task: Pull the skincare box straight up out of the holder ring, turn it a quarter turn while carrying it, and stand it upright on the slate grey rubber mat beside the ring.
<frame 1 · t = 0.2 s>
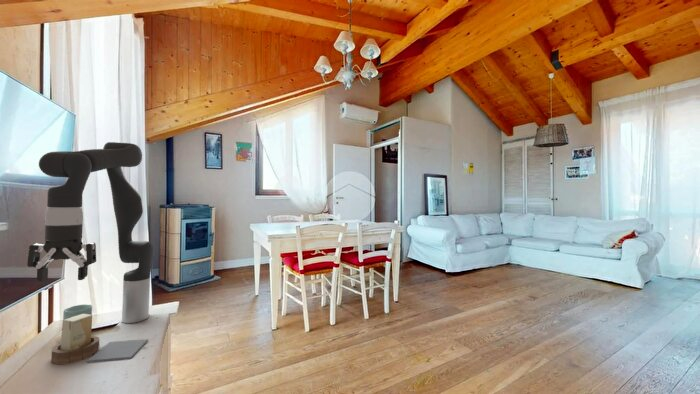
hand: (62, 280, 81), 28 cm above the table, tool pointing down, fingers open, 8 cm apart
cup: (77, 335, 108), on the table
holder ring: (76, 354, 95), on the table
skincare box: (76, 355, 95), resting in holder ring
mat: (119, 350, 98), on the table
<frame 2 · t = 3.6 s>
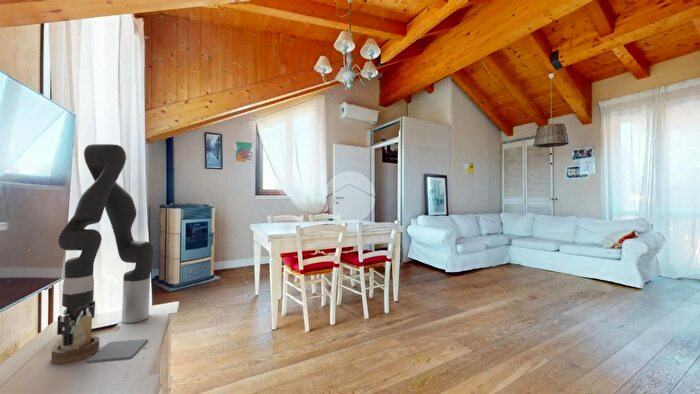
hand: (76, 339, 95), 5 cm above the table, tool pointing down, fingers closed on skincare box, 7 cm apart
skincare box: (75, 355, 95), resting in holder ring, touching gripper
everything else where it was.
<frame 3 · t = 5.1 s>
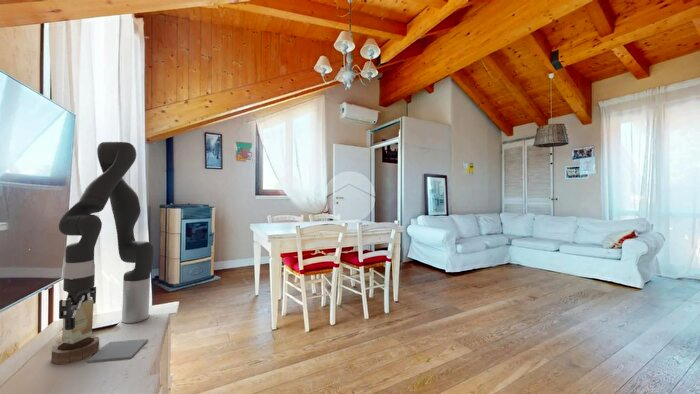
hand: (78, 324, 95), 10 cm above the table, tool pointing down, fingers closed on skincare box, 7 cm apart
skincare box: (77, 339, 95), point 5 cm above the table, touching gripper
everything else where it was.
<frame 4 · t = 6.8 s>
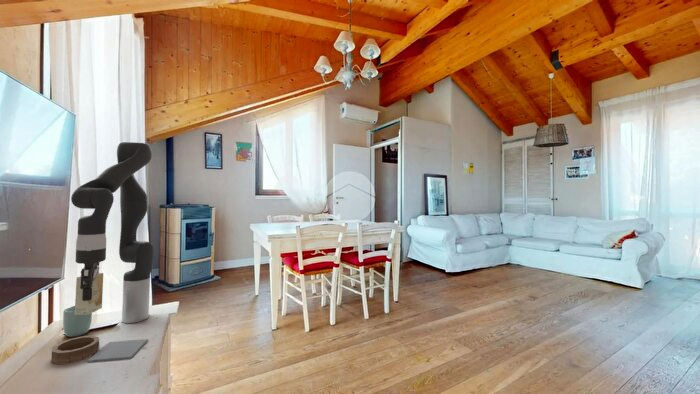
hand: (89, 296, 96), 19 cm above the table, tool pointing down, fingers closed on skincare box, 7 cm apart
skincare box: (88, 312, 96), point 14 cm above the table, touching gripper
everything else where it was.
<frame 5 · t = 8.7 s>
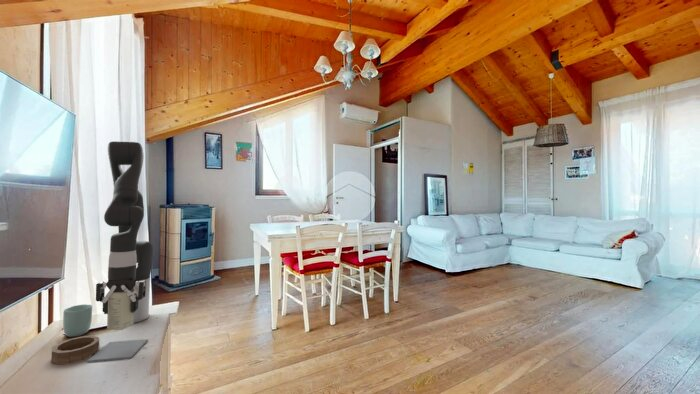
hand: (120, 312, 98), 13 cm above the table, tool pointing down, fingers closed on skincare box, 7 cm apart
skincare box: (119, 327, 98), point 8 cm above the table, touching gripper
everything else where it was.
when the fingers open (7 cm above the table, at t = 10.4 s): skincare box drops 1 cm, resting on mat.
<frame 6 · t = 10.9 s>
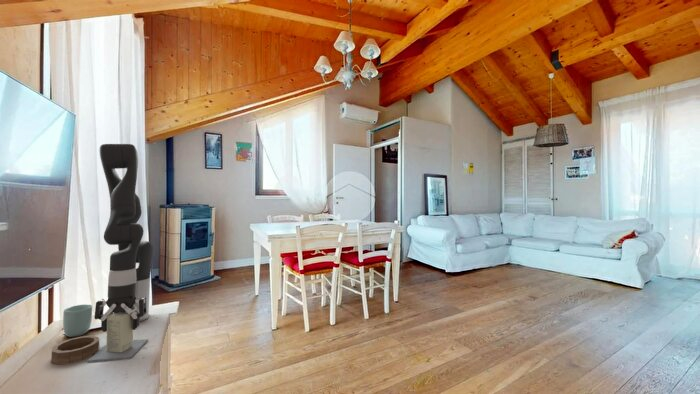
hand: (120, 329, 98), 7 cm above the table, tool pointing down, fingers open, 8 cm apart
skincare box: (119, 349, 98), resting on mat
everything else where it was.
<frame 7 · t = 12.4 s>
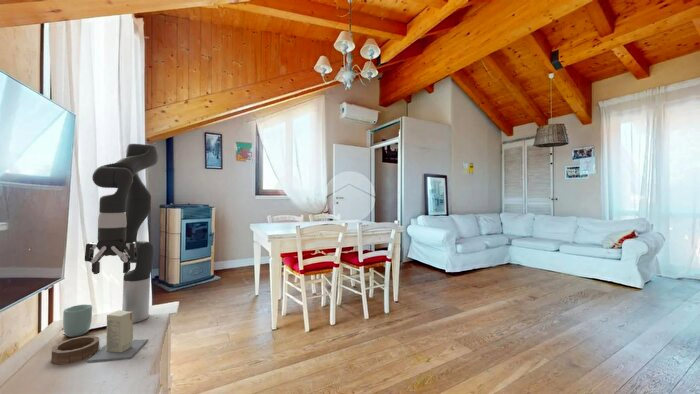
hand: (111, 273, 98), 26 cm above the table, tool pointing down, fingers open, 8 cm apart
nothing on the table moved.
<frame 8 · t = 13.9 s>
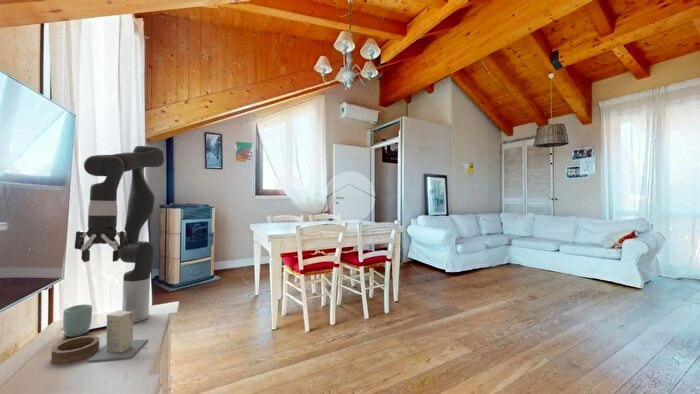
hand: (101, 261, 98), 30 cm above the table, tool pointing down, fingers open, 8 cm apart
nothing on the table moved.
at the end: skincare box inside the target area on the mat (0.2 cm from its centre), point 0.4 cm above the mat's base; skincare box tilted 0°; the gripper is holding nothing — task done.
